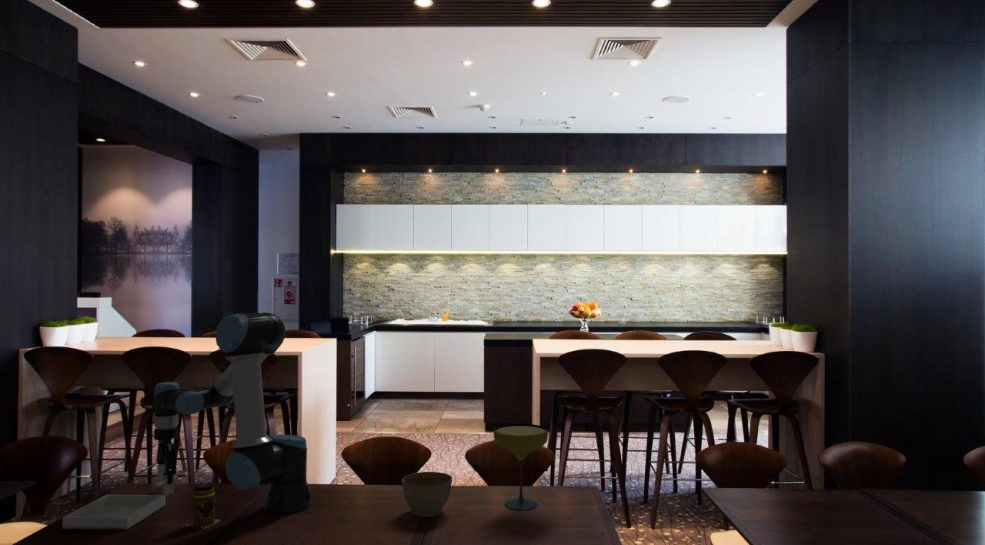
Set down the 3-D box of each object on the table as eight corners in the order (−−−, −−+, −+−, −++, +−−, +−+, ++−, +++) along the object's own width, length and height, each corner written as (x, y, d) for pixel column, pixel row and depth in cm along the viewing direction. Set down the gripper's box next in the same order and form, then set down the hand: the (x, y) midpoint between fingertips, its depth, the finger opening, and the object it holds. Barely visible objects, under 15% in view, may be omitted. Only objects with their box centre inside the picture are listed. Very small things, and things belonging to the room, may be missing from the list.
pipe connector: (167, 501, 205) (167, 472, 206) (142, 500, 207) (142, 470, 208) (187, 492, 215) (188, 464, 215) (163, 490, 217) (163, 462, 217)
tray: (165, 505, 202) (165, 495, 202) (127, 529, 182) (127, 517, 182) (106, 505, 202) (106, 494, 202) (62, 529, 182) (62, 517, 182)
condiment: (204, 529, 181) (204, 489, 182) (181, 526, 184) (182, 486, 184) (221, 520, 188) (222, 481, 189) (200, 517, 191) (200, 479, 191)
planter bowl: (462, 511, 195) (462, 477, 195) (424, 526, 183) (424, 490, 184) (429, 500, 206) (429, 468, 206) (391, 513, 194) (391, 478, 195)
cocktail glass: (533, 518, 189) (533, 438, 189) (484, 508, 198) (483, 431, 198) (557, 501, 204) (556, 426, 205) (510, 492, 213) (509, 421, 214)
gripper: (147, 422, 219) (146, 481, 219) (161, 435, 200) (159, 500, 199) (170, 419, 224) (170, 477, 223) (185, 432, 204) (184, 495, 204)
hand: (165, 488), depth 211 cm, fingers open, 13 cm apart
